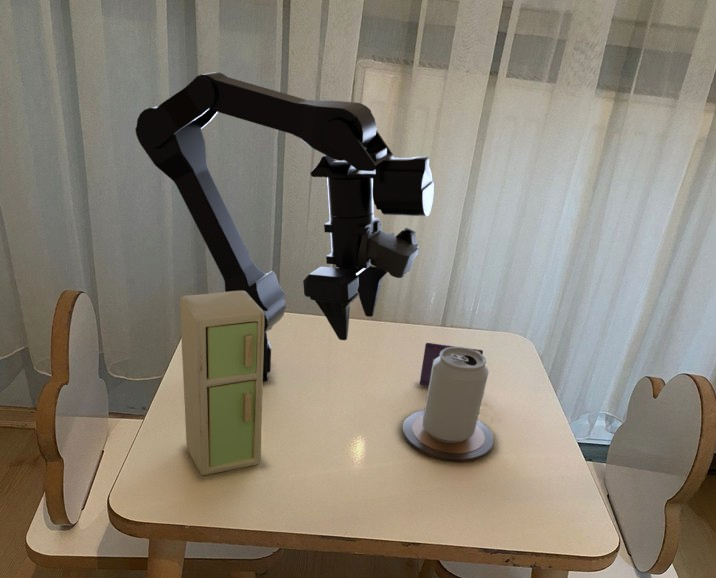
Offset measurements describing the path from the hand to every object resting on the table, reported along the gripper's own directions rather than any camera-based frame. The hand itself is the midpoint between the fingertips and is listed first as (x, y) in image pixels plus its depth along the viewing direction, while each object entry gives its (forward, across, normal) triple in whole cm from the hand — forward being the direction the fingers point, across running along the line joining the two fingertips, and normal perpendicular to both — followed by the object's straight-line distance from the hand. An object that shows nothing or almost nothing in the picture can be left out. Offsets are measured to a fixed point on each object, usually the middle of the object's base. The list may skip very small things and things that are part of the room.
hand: (356, 327), depth 100 cm
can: (+14, -1, -14) cm, 20 cm away
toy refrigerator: (+10, -23, +9) cm, 27 cm away
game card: (+14, +14, -9) cm, 22 cm away
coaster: (+14, -1, -14) cm, 20 cm away
